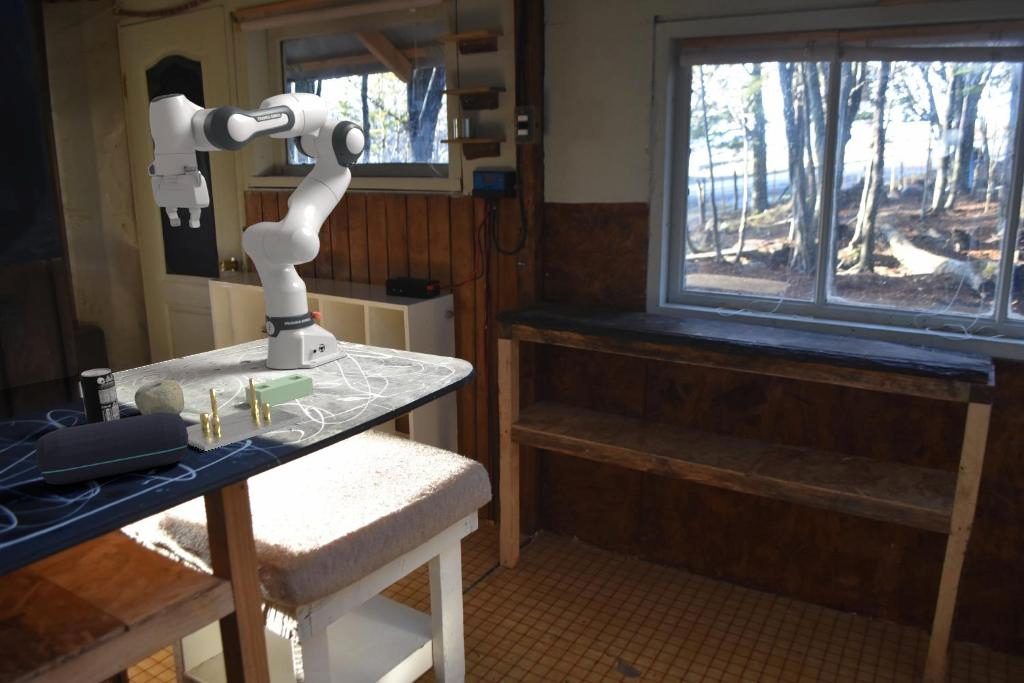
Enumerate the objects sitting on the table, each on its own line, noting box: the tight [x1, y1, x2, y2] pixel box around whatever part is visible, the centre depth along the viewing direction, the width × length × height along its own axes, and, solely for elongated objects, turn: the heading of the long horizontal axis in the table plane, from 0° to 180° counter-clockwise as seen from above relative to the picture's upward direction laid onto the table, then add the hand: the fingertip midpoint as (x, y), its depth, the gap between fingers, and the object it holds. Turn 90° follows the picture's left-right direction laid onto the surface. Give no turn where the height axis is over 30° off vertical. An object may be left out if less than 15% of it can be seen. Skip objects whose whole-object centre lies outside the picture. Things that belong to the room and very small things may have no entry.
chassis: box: [186, 378, 302, 452], centre depth 168 cm, size 22×14×10 cm, turn 139°
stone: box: [134, 379, 185, 415], centre depth 180 cm, size 10×10×10 cm
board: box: [244, 373, 314, 407], centre depth 189 cm, size 14×6×4 cm, turn 139°
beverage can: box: [79, 368, 121, 424], centre depth 174 cm, size 7×7×12 cm
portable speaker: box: [35, 412, 189, 485], centre depth 147 cm, size 25×10×10 cm, turn 118°
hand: (185, 226), depth 188 cm, fingers open, 8 cm apart
